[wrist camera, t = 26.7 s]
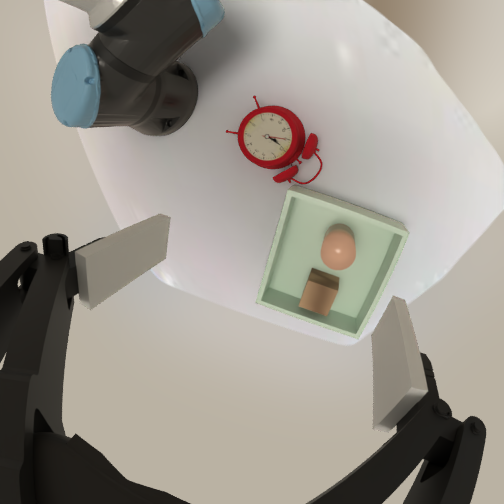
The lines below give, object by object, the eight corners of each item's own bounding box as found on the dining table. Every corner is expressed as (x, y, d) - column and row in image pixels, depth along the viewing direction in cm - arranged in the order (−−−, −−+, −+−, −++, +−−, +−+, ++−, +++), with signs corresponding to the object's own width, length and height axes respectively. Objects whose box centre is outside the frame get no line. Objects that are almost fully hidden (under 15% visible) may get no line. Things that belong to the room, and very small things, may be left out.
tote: (264, 287, 52) (255, 302, 47) (294, 184, 44) (287, 189, 39) (358, 321, 49) (358, 339, 44) (402, 223, 41) (409, 232, 36)
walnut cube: (303, 291, 49) (298, 306, 45) (312, 267, 47) (308, 280, 43) (329, 301, 48) (326, 316, 44) (339, 277, 46) (338, 290, 42)
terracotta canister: (320, 247, 46) (315, 263, 40) (329, 219, 44) (327, 231, 37) (348, 257, 45) (348, 275, 39) (358, 229, 43) (361, 243, 36)
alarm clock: (256, 85, 37) (332, 146, 34) (273, 97, 42) (340, 153, 40) (216, 137, 42) (282, 201, 39) (236, 143, 47) (296, 201, 44)
